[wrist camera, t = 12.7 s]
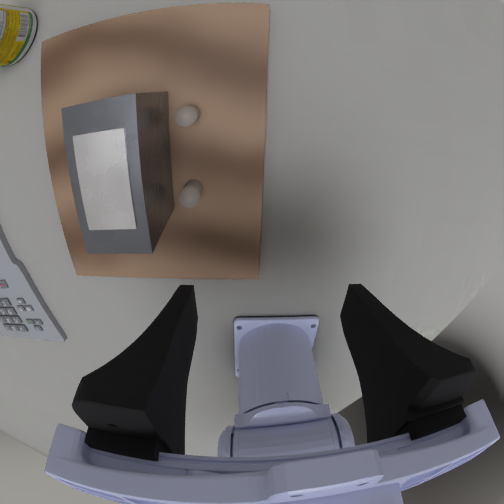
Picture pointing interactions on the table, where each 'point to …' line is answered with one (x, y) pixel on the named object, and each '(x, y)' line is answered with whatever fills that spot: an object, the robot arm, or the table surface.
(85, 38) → the pin tray
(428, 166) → the table surface
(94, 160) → the block
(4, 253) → the office telephone
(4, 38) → the supplement bottle
